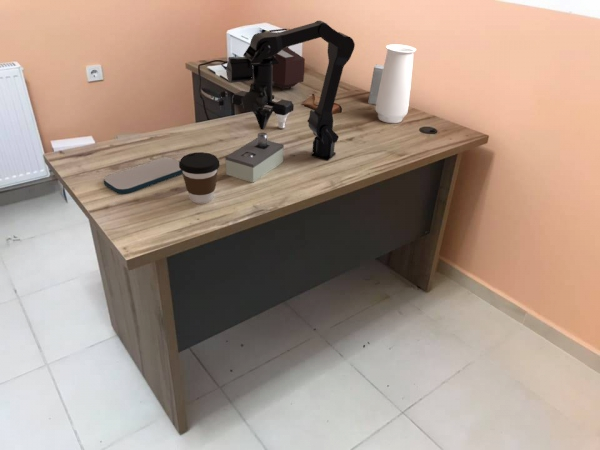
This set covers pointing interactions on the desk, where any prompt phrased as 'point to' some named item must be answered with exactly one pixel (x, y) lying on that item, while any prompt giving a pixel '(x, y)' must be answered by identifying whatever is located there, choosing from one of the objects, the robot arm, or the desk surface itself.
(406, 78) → the vase
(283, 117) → the lightbulb
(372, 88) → the skincare box
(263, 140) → the inner peg
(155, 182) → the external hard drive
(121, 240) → the desk surface
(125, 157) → the desk surface
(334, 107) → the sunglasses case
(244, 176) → the press block
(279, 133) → the desk surface
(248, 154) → the outer peg
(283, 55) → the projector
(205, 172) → the coffee cup
